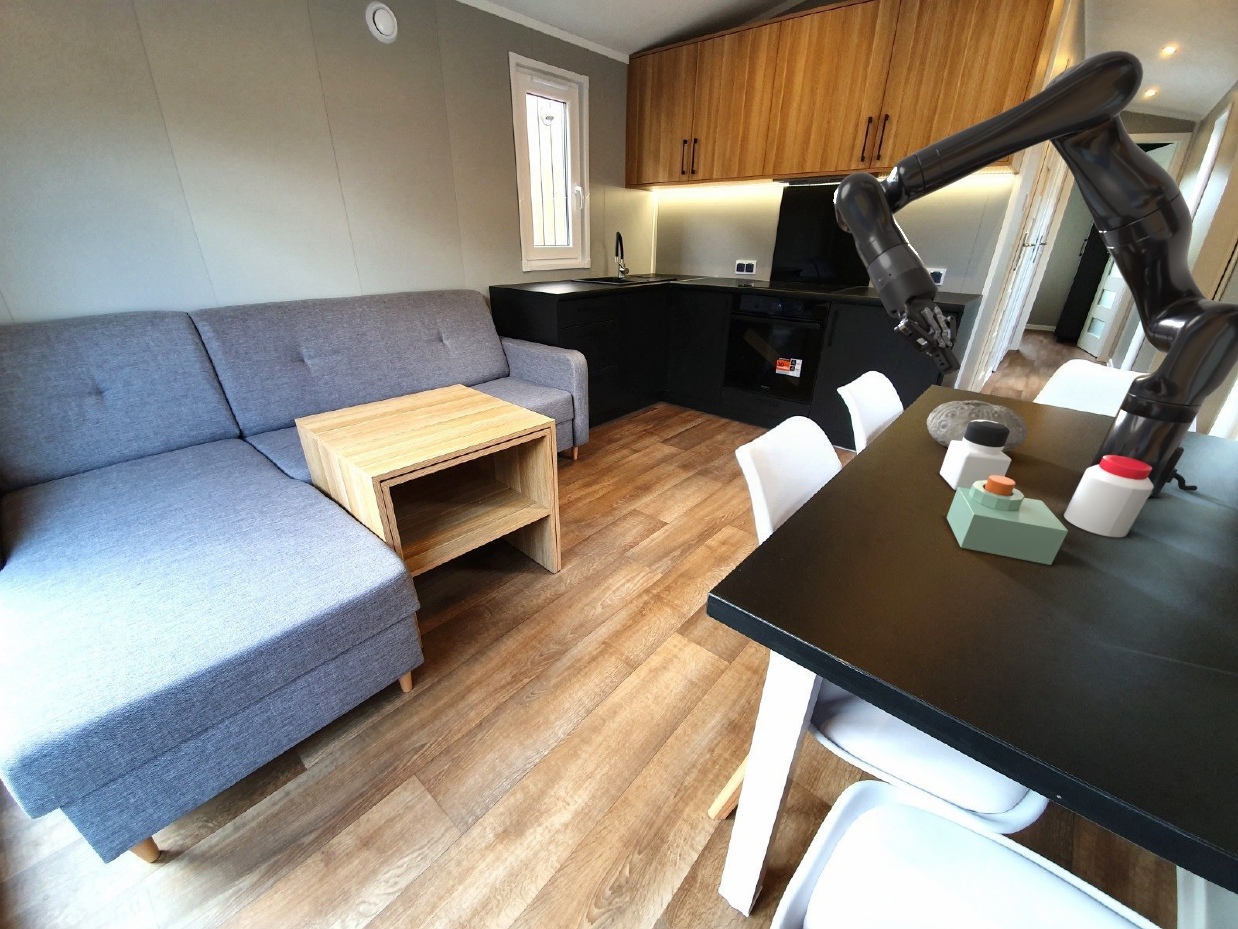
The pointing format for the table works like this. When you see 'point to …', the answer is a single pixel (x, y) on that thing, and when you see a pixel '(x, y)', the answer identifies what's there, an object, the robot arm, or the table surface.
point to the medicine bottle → (976, 455)
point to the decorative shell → (956, 415)
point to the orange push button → (1000, 485)
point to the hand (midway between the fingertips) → (952, 371)
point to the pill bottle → (1110, 496)
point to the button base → (1005, 524)
